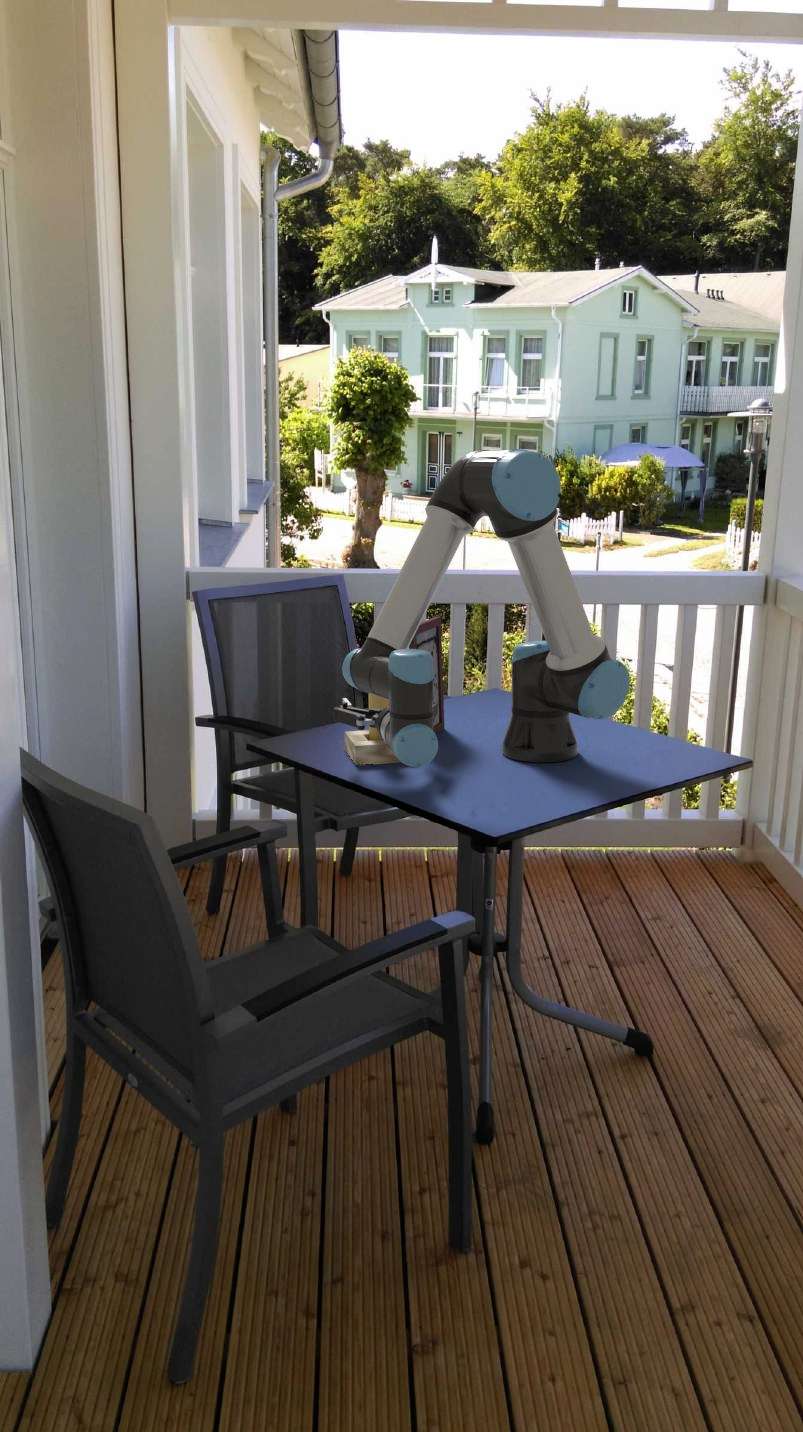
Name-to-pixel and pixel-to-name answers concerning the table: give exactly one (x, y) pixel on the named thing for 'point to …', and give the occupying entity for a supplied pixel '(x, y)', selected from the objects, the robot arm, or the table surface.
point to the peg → (376, 703)
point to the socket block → (367, 749)
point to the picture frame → (431, 641)
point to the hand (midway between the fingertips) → (378, 703)
